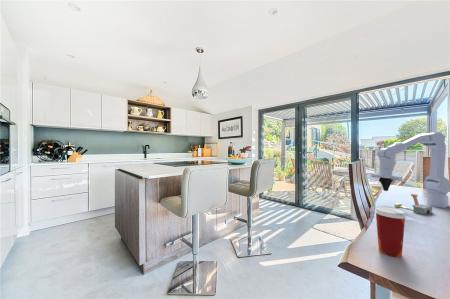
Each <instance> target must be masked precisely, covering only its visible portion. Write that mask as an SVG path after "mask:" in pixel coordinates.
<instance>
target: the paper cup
mask: <svg viewBox="0 0 450 299" xmlns="http://www.w3.org/2000/svg"><path fill="white" fill-rule="evenodd" d="M374 213H375V218H376V229H377V230H376V234H377V242H378V243H377V245H378V250H379V252H380V253H382V254H383V255H386V256H389V257H393V258H401V257H402V256H403V246H404V234H405V221H406V219H407V215H406V213H405V212H404V211H403V210H401V209H397V208H395V207H387V206H377V207H376V209H375V210H374Z"/></svg>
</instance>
